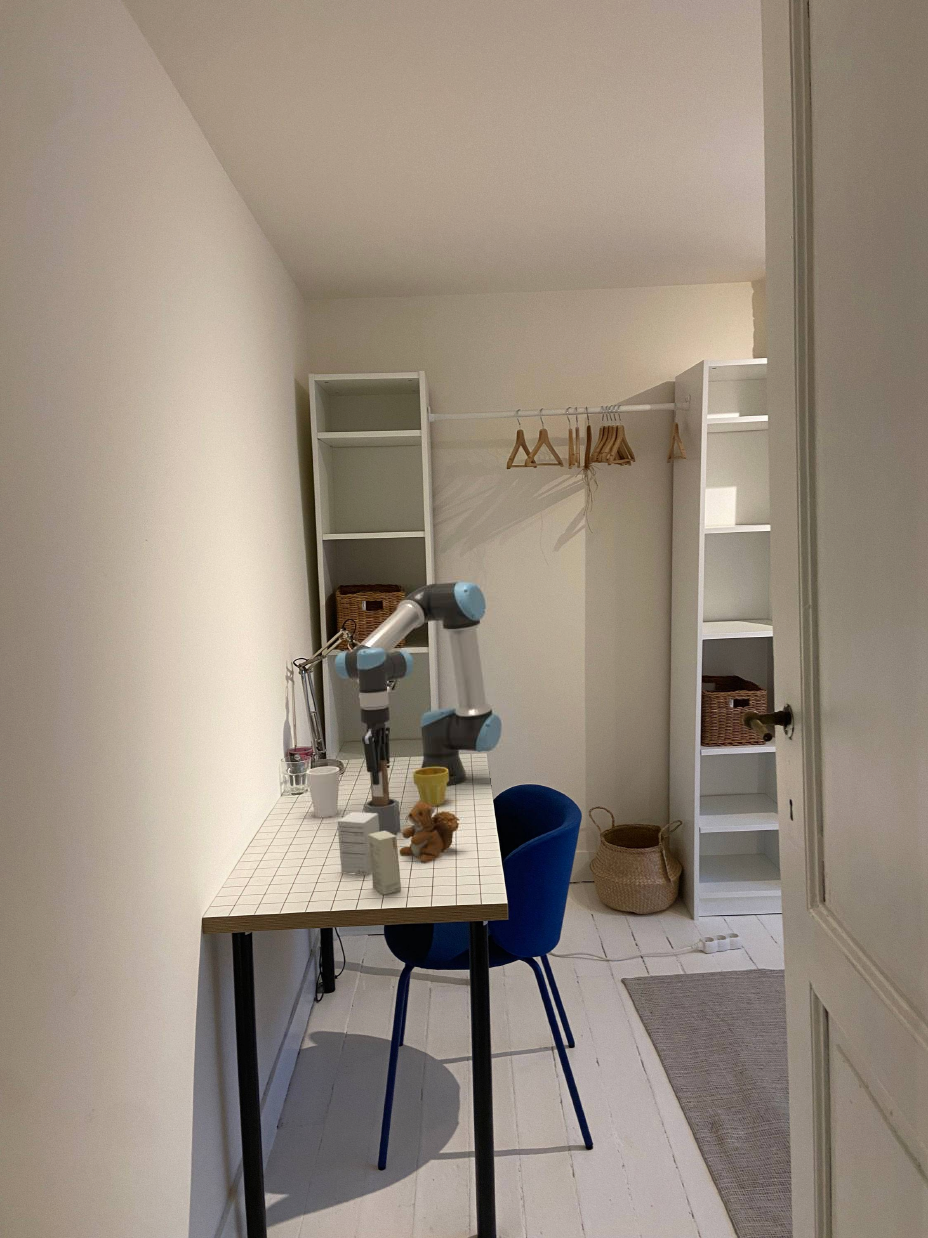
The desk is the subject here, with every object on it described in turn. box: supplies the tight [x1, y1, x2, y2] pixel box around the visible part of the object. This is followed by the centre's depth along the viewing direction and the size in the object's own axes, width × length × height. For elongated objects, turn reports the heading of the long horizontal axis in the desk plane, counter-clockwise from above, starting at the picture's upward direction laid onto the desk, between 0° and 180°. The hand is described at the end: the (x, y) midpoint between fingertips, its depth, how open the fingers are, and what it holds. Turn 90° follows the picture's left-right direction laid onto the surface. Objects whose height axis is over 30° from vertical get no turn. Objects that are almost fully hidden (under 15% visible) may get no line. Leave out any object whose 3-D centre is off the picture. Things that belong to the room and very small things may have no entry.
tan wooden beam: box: [369, 760, 390, 807], centre depth 234 cm, size 2×4×16 cm, turn 72°
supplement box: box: [336, 811, 379, 876], centre depth 207 cm, size 7×7×13 cm
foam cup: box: [306, 766, 341, 819], centre depth 256 cm, size 10×9×13 cm
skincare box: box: [369, 831, 402, 895], centre depth 194 cm, size 6×4×12 cm
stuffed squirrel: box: [398, 800, 461, 864], centre depth 215 cm, size 10×14×13 cm
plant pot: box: [412, 767, 449, 807], centre depth 260 cm, size 10×10×10 cm
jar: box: [363, 798, 402, 835], centre depth 235 cm, size 9×9×8 cm
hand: (380, 794), depth 234 cm, fingers closed on tan wooden beam, 2 cm apart
